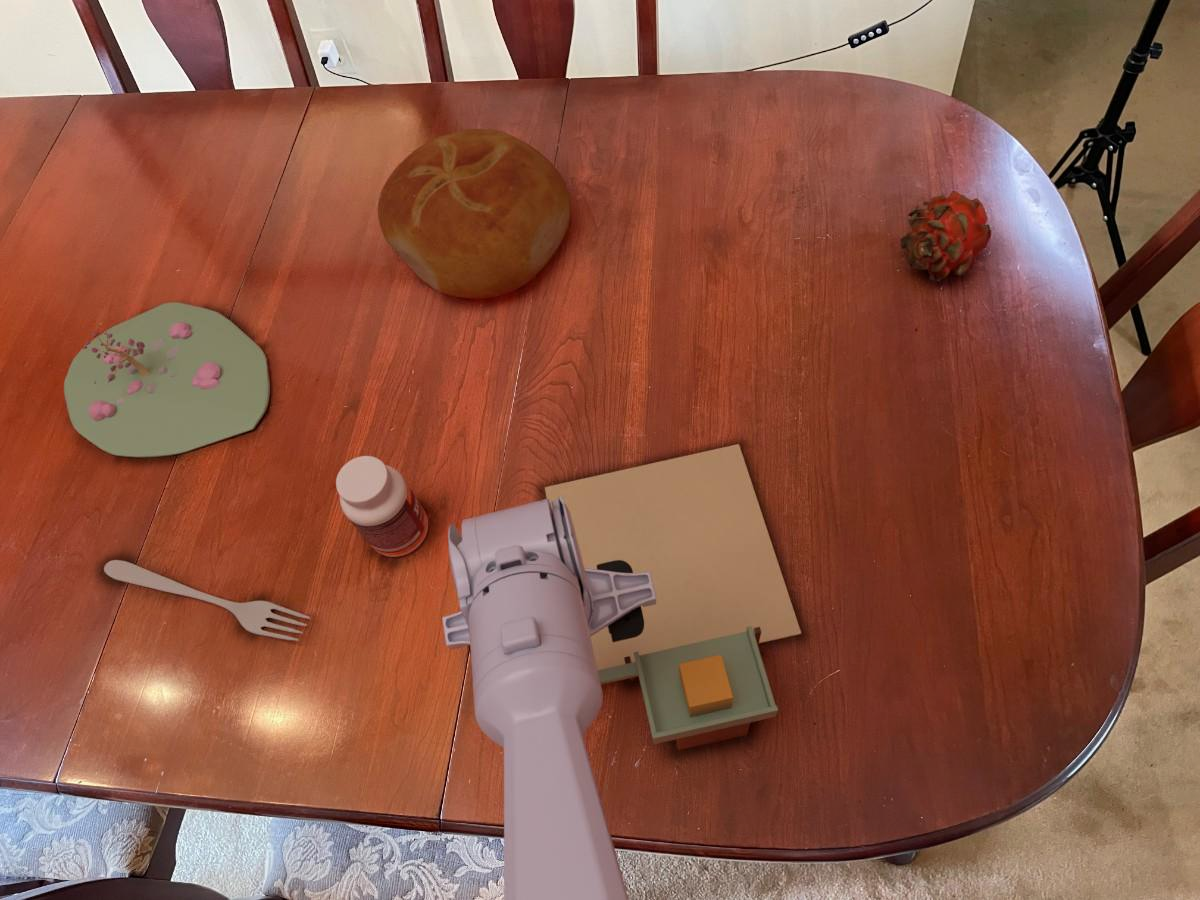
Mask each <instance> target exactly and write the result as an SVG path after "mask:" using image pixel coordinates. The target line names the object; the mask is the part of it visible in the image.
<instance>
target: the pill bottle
mask: <svg viewBox="0 0 1200 900" xmlns="http://www.w3.org/2000/svg"><path fill="white" fill-rule="evenodd" d="M335 487H336V491H337V493H338V495H339V504H340V508H341V511H342V513H343V514H344V515H345V517H346V518H347V519H348V520H349V521H350V523H351V524H352V525H353V526H354V527H355V529H356V530H357V531H358V532H359V533H360V535H361V536H362V537H363V538H364V540H365V541H366V542H367V544H368V545H370V546H371V548H372V549H373V550H374V551H375V552H377V553H378V554H380V555H383V556H386V557H389V558H398V557H402V556H406V555H409V554H410V553H412V552H414V551H415V550H416V549H417V548H419V547H420V546H421V544H422V543H423V542H424V540H425V539H426V536H427V534H428V530H429V517H428V516H427V513H426V511H425V509H424V507H423V506H422V505H421V503H420V501H419V500H418V498H417V496H416V495H415V494H414V492H413V490H412V489H411V487H410V486H409V484H408V482H407V481H406V480H405V478H404V476H403V475H402V474H401V472H400V471H398V470H397V469H396V468H394V467H393V466H390V465H388V464H385V463H384V462H383V461H382V460H381V459H380V458H378V457H375V456H372V455H361V456H356V457H354V458H352V459H350V460H349V461H347V462H346V463H345V464H344V465H343V466H341V468H340V469H339V471H338V473H337V475H336V479H335Z"/></svg>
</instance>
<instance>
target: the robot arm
mask: <svg viewBox="0 0 1200 900" xmlns="http://www.w3.org/2000/svg"><path fill="white" fill-rule="evenodd" d="M551 503H552V507H553V509H552V507H551V504H550V501H549V499H547V498H544V499H540V500H537V501H532V502H528V503H525V504H520V505H516V506H512V507H509V508H505V509H500V510H497V511H492V512H488V513H485V514H482V515H481V514H480V515H477V516H473V517H469V518H465V519H463V520H462V521H461V533H460V531H459V529H458V528H457V526H455V524H453V523H451V524H450V525H448V529H447V543H448V544H447V545H448V557H449V558H448V559H449V565H450V566H449V567H450V571H451V576H452V580H453V584H454V588H455V591H456V595H457V600H458V604H459V608H460V611H457V612H454V613H452V614H447V615H444V616H443V617H441V618H442V619H441V620H442V625H443V626H442V627H443V634H444V640H445V646H446V647H448V648H449V649H451V650H458V649H462V648H465V647H466V646H467V647H468V649H469V655H470V663H471V664H470V665H471V676H472V679H471V680H472V693H473V708H474V717H475V721H476V723H477V726H478V727H479V728H480V730H481V731H482V733H483V734H484V735H485V736H487V738H488V739H490V740H491V741H492V742H493V743H495V744H496V745H498V746H499V747H501V748H503V896H504V897H503V900H630V898H629V895H628V891H627V888H626V884H625V881H624V877H623V874H622V870H621V867H620V863H619V860H618V859H619V858H618V856H617V852H616V849H615V845H614V842H613V839H612V835H611V831H610V828H609V824H608V820H607V816H606V814H605V810H604V809H605V808H604V805H603V803H602V799H601V795H600V791H599V787H598V785H597V781H596V777H595V775H594V774H595V773H594V771H593V767H592V764H591V760H590V756H589V752H588V748H587V746H586V742H585V739H584V736H585V734H586V732H587V731H588V729H589V728H590V727H591V726H592V724H593V723H594V722H595V720H596V719H597V717H598V715H599V714H600V711H601V710H602V706H603V701H604V700H603V699H604V694H603V689H602V685H601V684H600V679H599V674H598V670H597V665H596V660H595V656H594V651H593V646H592V642H591V636H593V635H594V634H596V633H597V632H599V631H600V630H602V629H604V628H605V627H607V626H608V630H609V634H611V637H612V642H617V641H621V640H626V639H630V638H634V637H637V636H639V635H640V634H641V633H642V632H643V629H644V618H643V614H642V609H641V606H643V607H647V606H651V605H655V604H656V594H655V590H654V586H653V581H652V577H651V573H650V571H647V572H641V573H633V570H632V568H631V566H630V565H629V564H628V563H627V562H625V561H623V560H615V561H610V562H606V563H601V564H598V565H597V569H589V568H584V564H583V560H582V556H581V551H580V547H579V543H578V539H577V536H576V532H575V528H574V524H573V521H572V517H571V514H570V511H569V510H568V508H567V506H566V504H565V503H564V501H563V499H562V497H561V496H559V498H558V499H557V500H553V501H552V502H551Z"/></svg>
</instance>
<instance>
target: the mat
mask: <svg viewBox="0 0 1200 900" xmlns="http://www.w3.org/2000/svg"><path fill="white" fill-rule="evenodd" d="M544 492H545V497H546V498H545V499H549V501H550V504H551V507H552V503H551V502H552V501H553V500H557V499H558V498H559V496H561V497H562V499H563V501H564V503H565V504H566V506H567V508H568V510H569V511H570V514H571V517H572V521H573V524H574V528H575V532H576V536H577V539H578V543H579V547H580V551H581V556H582V560H583V564H584V568H589V569H597V565H598V564H601V563H606V562H610V561H615V560H623V561H625V562H627V563H628V564H629V565H630V566H631V568H632V570H633V573H641V572H647V571H650V573H651V577H652V581H653V586H654V590H655V594H656V604H655V605H651V606H647V607H643V606H641V609H642V614H643V618H644V629H643V632H642V633H641V634H640V635H639V636H637V637H634V638H630V639H626V640H621V641H617V642H612V637H611V634H609V630H608V626H607V627H605V628H604V629H602V630H600V631H599V632H597V633H596V634H594V635H593V636H591V642H592V646H593V651H594V656H595V660H596V665H597V670H602V669H606V668H611V667H615V666H620V665H624V664H625V660H624V657H628V656H630V659H631V663H633V662H635V657H634V652H639V655H644V654H648V653H653V652H657V651H661V650H666V649H670V648H675V647H679V646H684V645H688V644H693V643H697V642H701V641H706V640H710V639H715V638H719V637H724V636H728V635H732V634H737V633H741V632H746V631H747V627H748V626H752V628H753V631H754V628H756V627H760V629H761V636H760V641H759V645H760V644H763V643H769V642H773V641H777V640H781V639H786V638H790V637H794V636H795V637H796V636H799V635H802V630H801V628H800V625H799V622H798V619H797V616H796V613H795V610H794V606H793V604H792V601H791V597H790V594H789V591H788V588H787V585H786V581H785V580H784V575H783V574H782V570H781V567H780V565H779V561H778V558H777V555H776V552H775V549H774V546H773V542H772V540H771V537H770V534H769V531H768V528H767V524H766V521H765V518H764V515H763V513H762V510H761V507H760V503H759V500H758V497H757V494H756V491H755V489H754V485H753V482H752V479H751V477H750V472H749V470H748V467H747V464H746V461H745V457H744V455H743V452H742V449H741V445H740V443H737V444H733V445H728V446H724V447H723V446H722V447H719V448H715V449H710V450H706V451H702V452H697V453H696V452H695V453H693V454H688V455H683V456H679V457H673V458H670V459H665V460H661V461H656V462H653V463H648V464H643V465H639V466H634V467H629V468H626V469H621V470H616V471H612V472H607V473H603V474H598V475H594V476H589V477H585V478H580V479H576V480H575V479H574V480H571V481H567V482H562V483H558V484H553V485H549V486H544ZM552 509H553V507H552Z"/></svg>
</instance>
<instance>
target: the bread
mask: <svg viewBox="0 0 1200 900" xmlns="http://www.w3.org/2000/svg"><path fill="white" fill-rule="evenodd" d="M571 211H572V202H571V196H570V191H569V189H568V185H567V183H566V181H565V179H564V177H563V176H562V174H561V172H560V171H559V170H558V169H557V167H556V166H555V165H554V164H553V163H552V162H551V161H550V159H548V158H547V157H546V156H545V155H543V153H541V152H540V151H539V150H538V149H536V148H535V147H534V146H532V145H530V144H528V143H527V142H525V141H524V140H522V139H521V138H518V137H517V136H514V135H512V134H509V133H507V132H505V131H502V130H499V129H492V128H466V129H461V130H458V131H454V132H451V133H447V134H443V135H440V136H437V137H435V138H433V139H431V140H429V141H427V142H425V143H423V144H422V145H420V146H419V147H417V148H415V150H413V151H411V153H410V154H408V155H407V156H406V157H405V158H404V159H403V160H402V161H401V162H400V163H398V165H397V166H396V167H395V169H394V170H393V171H392V173H390V175H389V176H388V178H387V180H386V181H385V183H384V185H383V187H382V188H381V191H380V193H379V196H378V203H377V217H378V223H379V227H380V229H381V233H382V235H383V238H384V240H385V241H386V243H388V245H389V246H390V248H391V249H393V251H394V252H395V253H396V254H397V255H398V257H400V258H401V259H402V261H403V262H404V263H405V264H406V266H408V267H409V268H410V269H411V270H412V272H413V273H414V274H415V275H416V276H417V277H418V278H419V279H420V280H422V281H423V282H424V283H425V284H427V285H428V286H429V287H431V288H432V289H434V290H435V291H437V292H439V293H441V294H444V295H447V296H451V297H455V298H456V297H457V298H465V299H475V300H476V299H477V300H478V299H490V298H494V297H497V296H498V297H499V296H501V295H505V294H508V293H512V292H513V291H516V290H517V289H519V288H521V287H523V286H524V285H526V284H528V283H530V281H531V280H533V279H534V278H535V277H536V276H537V275H538V274H539V273H540V272H541V271H542V269H543V268H544V267H545V266H546V265H547V264H548V263H549V261H550V260H551V258H553V256H554V255H555V253H556V252H557V250H558V248H559V246H560V245H561V243H562V242H563V239H564V237H565V235H566V233H567V231H568V229H569V225H570V221H571V213H572V212H571Z"/></svg>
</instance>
